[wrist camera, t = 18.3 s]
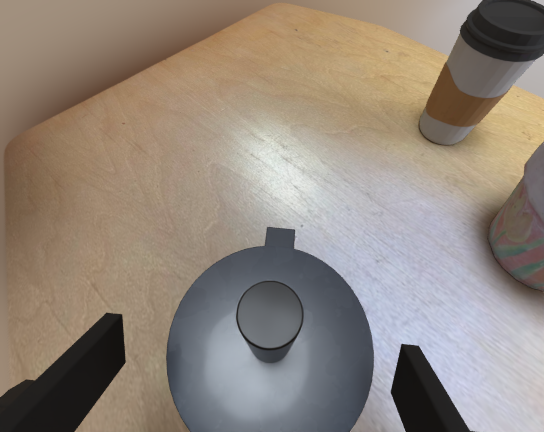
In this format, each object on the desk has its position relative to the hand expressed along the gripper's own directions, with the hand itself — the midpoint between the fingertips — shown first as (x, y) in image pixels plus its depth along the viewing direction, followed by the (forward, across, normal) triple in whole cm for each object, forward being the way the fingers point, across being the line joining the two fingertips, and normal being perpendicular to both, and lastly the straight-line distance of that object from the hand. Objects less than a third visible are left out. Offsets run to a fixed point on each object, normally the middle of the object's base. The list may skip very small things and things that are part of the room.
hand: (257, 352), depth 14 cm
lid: (+5, 0, -4) cm, 7 cm away
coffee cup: (+34, +22, +12) cm, 42 cm away
